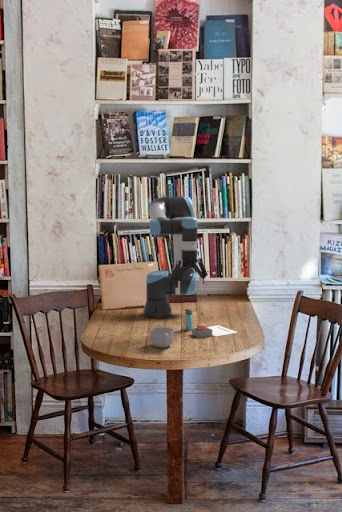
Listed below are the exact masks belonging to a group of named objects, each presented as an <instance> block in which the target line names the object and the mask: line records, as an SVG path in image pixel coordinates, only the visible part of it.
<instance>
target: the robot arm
mask: <svg viewBox="0 0 342 512" xmlns="http://www.w3.org/2000/svg"><path fill="white" fill-rule="evenodd" d="M193 205H194V204H193V200H192V198H190V197H189V196H160V197H158V198H155V199H154V200H152V201H151V202H150V203H149V204H148V206H147V214H148V216H149V218H150V219H151V220H150V221H149V233H150V235H152V236H166V235H167V236H168V235H169V236H171V235H172V236H173V237H172V239H173V260H174V261H173V262H174V265H173V266H174V267H173V268H172V269H171V272H169V270H166V269H161V270H160V269H158V270H154V271H151V272H149V273H147V275H146V277H145V278H146V279H145V284H146V291H145V292H146V295H145V296H146V297H145V298H146V300H145V303H144V308H143V313H142V315H143V317H146V318H152V319H155V318H156V319H163V318H168V317H171V316H172V312H173V311H172V307H171V304H170V302H169V296H188V295H189V296H190V295H191V296H192V295H194V294H195V292H196V289H197V280H198V291H200V292H203V291H204V285H205V278H206V277H208V275H209V274H208V272H207V270H206V267H205V265H204V263H203V258H201V257H198V250H197V249H198V226H199V225H198V219H197V217H196V216H195V214H194V210H195V209H194V206H193ZM194 216H195V217H194ZM197 264H198V265H197ZM194 270H195V271H194ZM198 276H199V277H198Z"/></svg>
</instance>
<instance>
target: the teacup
mask: <svg viewBox="0 0 342 512" xmlns="http://www.w3.org/2000/svg"><path fill="white" fill-rule="evenodd" d="M174 333H175V329H174V328H173V327H167V326H154V327H151V328H150V329H149V336H150V337H149V338H150V343H151V345H153V346H154V347H155V348H161V349H163V348H168V347H170V346H171V345H173V343H174V336H175V335H174Z"/></svg>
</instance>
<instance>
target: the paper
mask: <svg viewBox="0 0 342 512" xmlns="http://www.w3.org/2000/svg"><path fill="white" fill-rule="evenodd" d="M207 328H209V329H212V336H213V337H215V338H217V337H222V336H228V335H233V334H238V333H239V332H238V331H236V330H232V329H231V328H230V329H229V328H227V327H224V326H221V325H220V324H219V325H212V326H207Z"/></svg>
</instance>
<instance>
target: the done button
mask: <svg viewBox="0 0 342 512" xmlns="http://www.w3.org/2000/svg"><path fill="white" fill-rule="evenodd" d="M207 327H208V324H207V323H198V324H196V328H197V330H199V331H205V330H207Z"/></svg>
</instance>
